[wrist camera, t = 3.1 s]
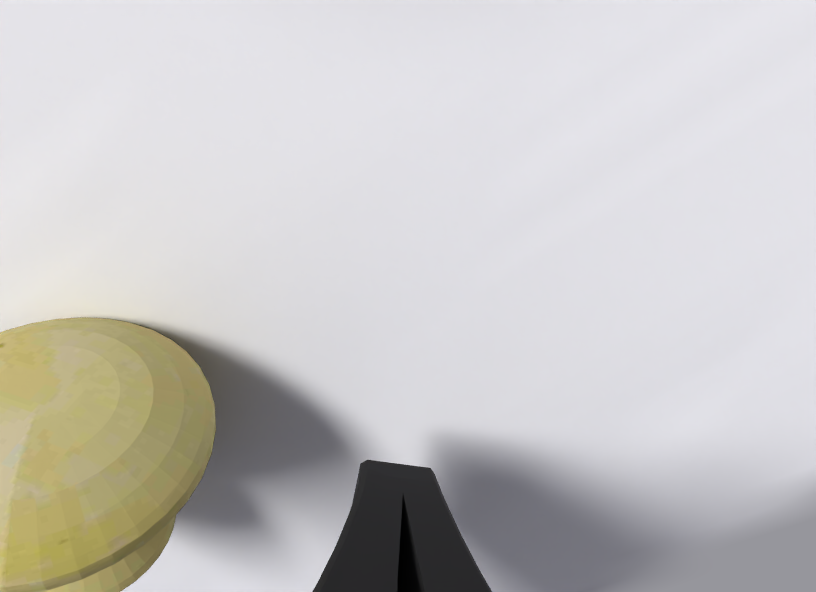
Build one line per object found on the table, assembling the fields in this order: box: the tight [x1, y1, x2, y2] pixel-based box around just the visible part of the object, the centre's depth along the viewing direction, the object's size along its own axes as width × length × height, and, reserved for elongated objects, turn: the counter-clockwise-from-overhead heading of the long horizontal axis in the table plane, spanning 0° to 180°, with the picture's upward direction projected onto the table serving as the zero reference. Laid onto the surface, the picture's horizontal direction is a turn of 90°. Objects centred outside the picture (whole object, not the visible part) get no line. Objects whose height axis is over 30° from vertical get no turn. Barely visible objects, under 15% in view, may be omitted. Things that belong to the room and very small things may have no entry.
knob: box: [0, 318, 216, 592], centre depth 11 cm, size 5×5×5 cm
